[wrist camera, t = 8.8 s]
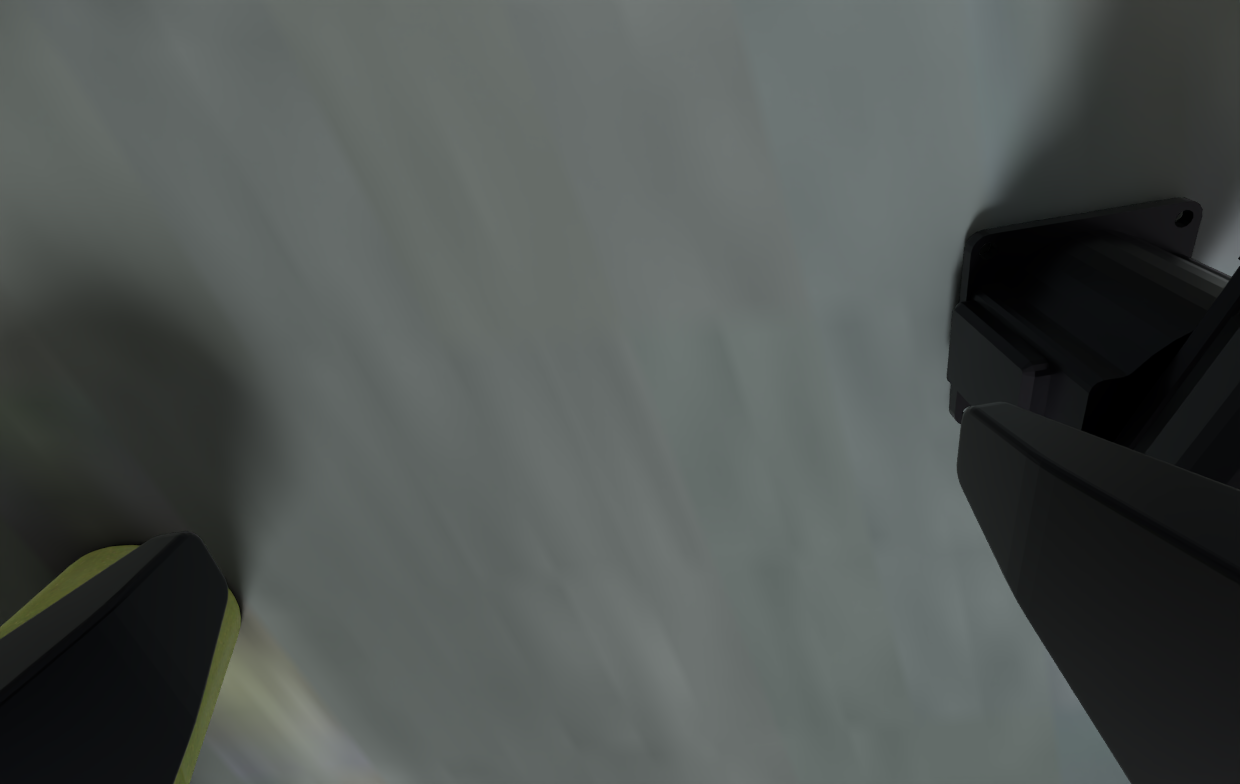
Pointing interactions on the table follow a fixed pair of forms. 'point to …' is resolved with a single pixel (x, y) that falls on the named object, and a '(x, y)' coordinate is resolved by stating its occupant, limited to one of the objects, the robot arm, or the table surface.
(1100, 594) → the robot arm
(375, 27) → the table surface
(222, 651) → the plant pot
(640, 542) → the table surface
